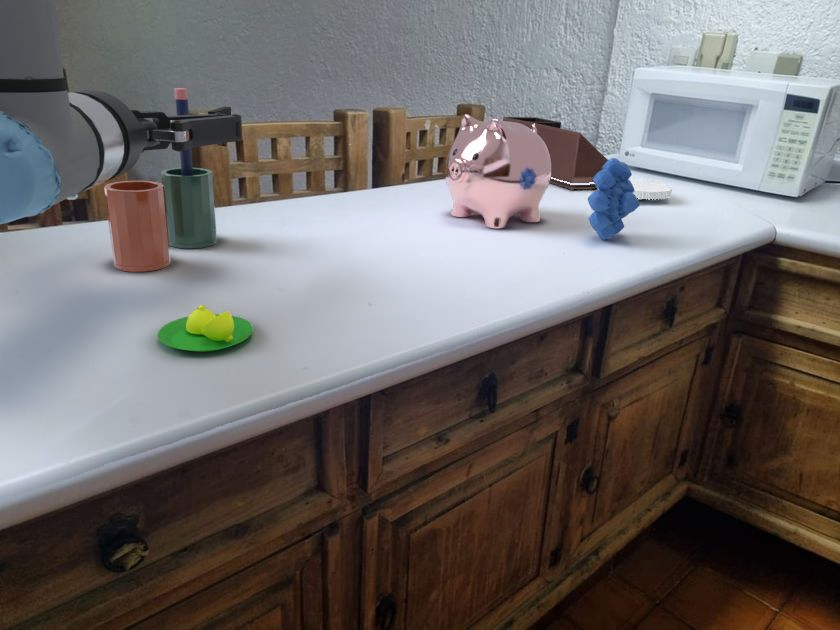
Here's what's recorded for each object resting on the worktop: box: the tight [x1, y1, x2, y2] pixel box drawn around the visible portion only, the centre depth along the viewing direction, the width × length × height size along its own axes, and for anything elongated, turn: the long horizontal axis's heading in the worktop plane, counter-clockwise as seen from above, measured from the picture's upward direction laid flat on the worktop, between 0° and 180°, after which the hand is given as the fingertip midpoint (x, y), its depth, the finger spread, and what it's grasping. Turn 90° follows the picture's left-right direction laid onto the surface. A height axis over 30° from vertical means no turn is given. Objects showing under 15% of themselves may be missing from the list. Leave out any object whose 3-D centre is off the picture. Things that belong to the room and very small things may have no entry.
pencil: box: [173, 87, 194, 176], centre depth 81 cm, size 1×1×18 cm
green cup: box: [160, 167, 217, 250], centre depth 83 cm, size 6×6×9 cm
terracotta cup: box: [103, 180, 172, 273], centre depth 74 cm, size 6×6×9 cm
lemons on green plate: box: [157, 304, 254, 353], centre depth 58 cm, size 8×8×3 cm
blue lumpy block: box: [587, 157, 640, 240], centre depth 95 cm, size 12×7×12 cm, turn 140°
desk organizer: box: [502, 116, 609, 191], centre depth 144 cm, size 10×29×11 cm, turn 25°
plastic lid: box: [629, 177, 673, 201], centre depth 129 cm, size 14×14×2 cm
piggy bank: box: [444, 113, 552, 230], centre depth 103 cm, size 15×18×16 cm
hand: (167, 115), depth 74 cm, fingers open, 13 cm apart
